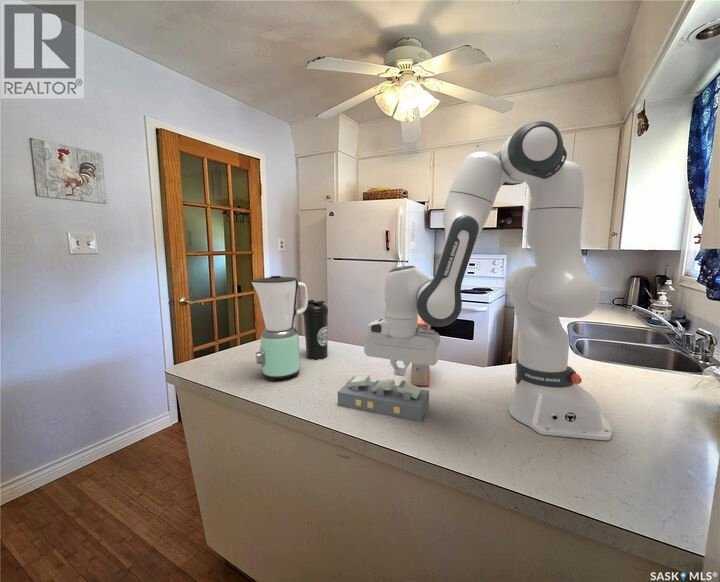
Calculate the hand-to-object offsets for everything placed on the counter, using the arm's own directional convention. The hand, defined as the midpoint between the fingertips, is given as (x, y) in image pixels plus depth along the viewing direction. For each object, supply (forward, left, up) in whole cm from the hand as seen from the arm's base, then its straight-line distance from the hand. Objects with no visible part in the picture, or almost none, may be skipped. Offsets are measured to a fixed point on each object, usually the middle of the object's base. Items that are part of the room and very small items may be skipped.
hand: (400, 375), depth 90 cm
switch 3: (-3, 0, -4) cm, 5 cm away
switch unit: (+5, 0, -10) cm, 11 cm away
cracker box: (-1, -22, -10) cm, 24 cm away
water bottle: (+43, -28, -10) cm, 52 cm away
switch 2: (+5, 0, -4) cm, 6 cm away
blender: (+45, -8, -10) cm, 47 cm away
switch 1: (+12, 0, -4) cm, 13 cm away
